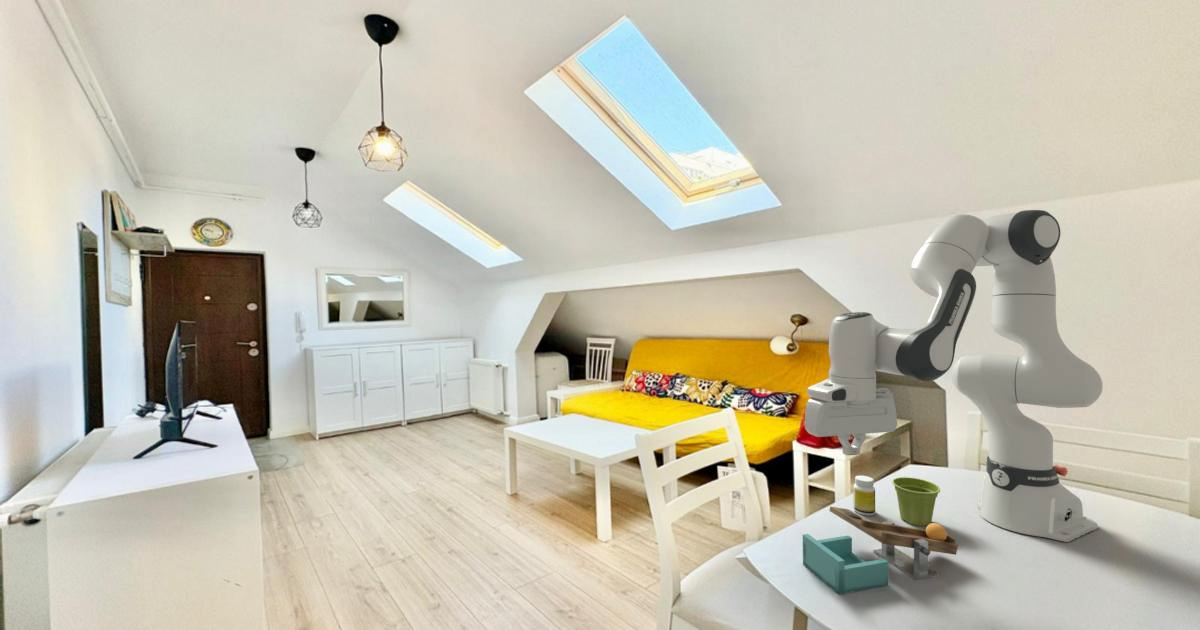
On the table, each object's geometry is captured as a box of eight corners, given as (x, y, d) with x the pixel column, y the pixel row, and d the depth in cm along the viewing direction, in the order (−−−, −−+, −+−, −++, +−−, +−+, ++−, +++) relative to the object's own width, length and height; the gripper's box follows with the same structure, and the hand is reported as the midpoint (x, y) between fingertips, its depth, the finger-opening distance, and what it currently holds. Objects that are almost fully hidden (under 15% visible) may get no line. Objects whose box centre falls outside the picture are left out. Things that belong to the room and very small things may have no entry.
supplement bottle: (878, 516, 113) (878, 482, 112) (857, 515, 114) (857, 481, 113) (871, 508, 117) (871, 475, 117) (850, 506, 118) (850, 474, 118)
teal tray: (848, 556, 96) (848, 527, 96) (888, 585, 86) (888, 553, 86) (802, 564, 93) (802, 534, 93) (839, 594, 84) (838, 561, 83)
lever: (895, 521, 106) (897, 509, 106) (955, 554, 92) (958, 540, 92) (829, 510, 102) (832, 498, 102) (882, 543, 88) (885, 529, 88)
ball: (934, 536, 97) (935, 520, 97) (950, 545, 93) (952, 528, 93) (920, 537, 96) (922, 520, 96) (936, 545, 92) (938, 528, 92)
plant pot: (942, 534, 104) (942, 495, 104) (892, 524, 109) (892, 487, 109) (938, 517, 112) (938, 481, 112) (892, 508, 117) (892, 474, 117)
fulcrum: (892, 548, 98) (892, 518, 98) (938, 576, 88) (938, 542, 88) (872, 551, 97) (872, 521, 97) (916, 580, 87) (916, 546, 87)
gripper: (881, 385, 104) (880, 446, 104) (800, 388, 99) (800, 453, 99) (905, 389, 97) (904, 455, 98) (820, 393, 93) (820, 462, 93)
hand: (851, 454), depth 98 cm, fingers closed
